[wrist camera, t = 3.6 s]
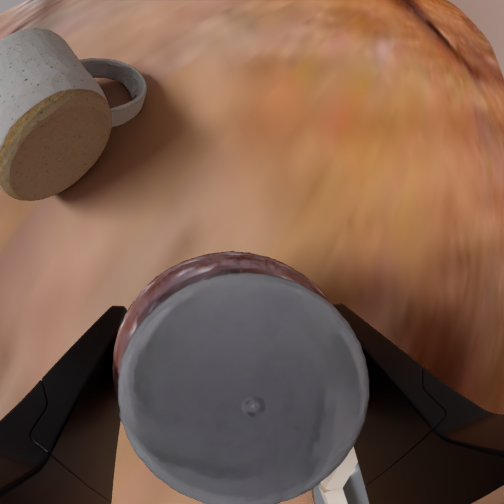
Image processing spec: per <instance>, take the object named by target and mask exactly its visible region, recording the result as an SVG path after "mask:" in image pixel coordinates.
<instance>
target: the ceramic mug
mask: <svg viewBox="0 0 504 504" xmlns="http://www.w3.org/2000/svg"><path fill="white" fill-rule="evenodd" d="M94 78H108V79H112V80H117V81H119V82H121V83H123V84H124V85H125V86H126V88H127V89H128V91H129V92H130V93H131V98H132V99H133V100H132V101H130V102H128V103H126V104H124V105H119V106H117V107H114V108H110V107H109V104H108V101H107V99H106V97H105V95H104V93H103V91H102V89H101V88H100V86H99V84H98V83H97V82H96V81H95V79H94ZM146 90H147V85H146V82H145V79H144V77H143V76H142V75H141V74H140V72H139V71H137V70H136V69H135V68H133V67H132V66H130V65H128V64H126V63H123V62H120V61H117V60H111V59H96V58H90V59H84V60H79V59H78V58H77V56H76V55H75V54H74V52H73V51H72V49H71V48H70V47H69V45H68V44H67V43H66V41H65V40H64V39H63V38H62V37H60V36H59V35H58V34H56V33H54V32H52V31H50V30H46V29H37V28H33V29H27V30H21V31H18V32H15V33H13V34H10V35H8V36H6V37H4V38H3V39H1V40H0V187H1V189H2V190H3V191H4V192H5V193H7V194H8V195H10V196H11V197H13V198H15V199H18V200H26V201H34V200H40V199H45V198H48V197H50V196H53V195H55V194H58V193H60V192H62V191H63V190H65V189H66V188H68V187H69V186H71V185H72V184H74V183H75V182H76V181H78V180H79V179H80V178H81V177H82V176H83V175H84V174H85V173H86V172H87V171H88V170H89V169H90V168H91V167H92V166H93V165H94V164H95V162H96V161H97V159H98V158H99V157H100V155H101V154H102V152H103V150H104V148H105V146H106V144H107V142H108V139H109V136H110V131H111V128H112V127H117V126H120V125H123V124H125V123H126V122H127V121H129V120H131V119H132V118H133V117H135V116H136V115H137V114H138V113H139V111H140V110H141V108H142V105H143V102H144V99H145V96H146Z"/></svg>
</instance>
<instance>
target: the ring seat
mask: <svg viewBox="0 0 504 504" xmlns="http://www.w3.org/2000/svg"><path fill="white" fill-rule="evenodd" d="M312 494H313V500H314V503H315V504H369V501H368V497H367V493H366V490H365V485H364V482H363V478H362V475H361V471H360V467H359V464H358V460H357V457H356V453H355V450H354V446H353V447H352V449H351V450H350V452H349V453H348V455H347V457H346V458H345V459H344V461H343V462H342V463H341V465H340V466H338V467H337V468H336V469H335V470H334V471H333V472H332V473H331V474H330V475H329V476H328V477H327V478H325V479H324V480H322V481H321V482H320V483H319V484H318V485H317V486H316V487H314V488H313V489H312Z"/></svg>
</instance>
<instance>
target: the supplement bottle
mask: <svg viewBox="0 0 504 504" xmlns="http://www.w3.org/2000/svg"><path fill="white" fill-rule="evenodd" d="M112 370H113V382H114V389H115V393H116V396H117V400H118V405H119V408H120V414H119V416H120V419H121V422H122V424H123V425H124V428H125V431H126V434H127V437H128V439H129V441H130V443H131V445H132V447H133V449H134V450H135V452H136V454H137V456H138V457H139V458H140V459H141V460H142V461H143V462H144V463H145V465H146V466H147V467H148V468H149V469H150V471H151V472H152V473H153V474H154V475H155V476H156V477H158V478H159V479H160V480H162V481H163V482H165V483H166V484H167V485H169V486H170V487H171V488H173V489H174V490H176V491H177V492H179V493H181V494H183V495H186V496H188V497H191V498H193V499H196V500H198V501H200V502H203V503H206V504H277V503H280V502H283V501H287V500H290V499H293V498H295V497H297V496H299V495H301V494H303V493H305V492H307V491H309V490H311V489H313V488H314V487H316V486H317V485H318V484H319V483H320V482H321V481H322V480H324V479H325V478H327V477H328V476H329V475H330V474H331V473H332V472H333V471H334V470H335V469H336V468H337V467H338V466H340V465H341V463H342V462H343V461H344V459H345V458H346V457H347V455H348V453H349V452H350V450H351V449H352V447H353V446H354V444H355V442H356V440H357V438H358V436H359V434H360V432H361V429H362V427H363V424H364V422H365V418H366V413H367V408H368V400H369V376H368V369H367V365H366V358H365V356H364V354H363V350H362V347H361V344H360V342H359V340H358V339H357V337H356V335H355V333H354V331H353V330H352V328H351V326H350V325H349V323H348V322H347V321H346V320H345V318H344V317H343V316H342V315H341V313H340V312H339V311H338V310H337V309H336V308H335V307H334V306H333V305H332V303H331V302H330V300H329V299H328V298H327V297H326V296H325V294H324V293H323V292H322V291H321V290H320V289H319V287H318V286H316V285H315V284H314V283H313V282H312V281H310V280H309V279H308V278H307V277H305V276H304V275H303V274H301V273H299V272H298V271H296V270H295V269H293V268H292V267H289V266H287V265H286V264H284V263H282V262H279V261H277V260H275V259H271V258H269V257H265V256H260V255H256V254H252V253H243V252H234V251H229V252H221V253H213V254H207V255H203V256H198V257H196V258H192V259H189V260H186V261H183V262H181V263H179V264H177V265H175V266H173V267H171V268H169V269H167V270H166V271H164V272H163V273H162V274H161V275H159V276H157V277H155V279H154V280H153V281H151V282H150V283H149V284H148V285H147V286H146V287H145V288H144V289H143V290H142V291H141V293H140V294H139V296H138V297H137V298H136V300H135V301H134V302H133V303H132V304H131V306H130V308H129V309H128V311H127V313H126V314H125V316H124V320H123V322H122V323H121V325H120V327H119V330H118V335H117V338H116V342H115V346H114V353H113V364H112Z"/></svg>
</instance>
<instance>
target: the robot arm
mask: <svg viewBox="0 0 504 504" xmlns="http://www.w3.org/2000/svg"><path fill="white" fill-rule="evenodd" d="M332 305H333V306H334V307H335V308H336V309H337V310H338V311H339V312H340V313H341V315H342V316H343V317H344V318H345V320H346V321H347V322H348V323H349V325H350V326H351V328H352V330H353V331H354V333H355V335H356V337H357V339H358V340H359V342H360V344H361V347H362V350H363V354H364V356H365V358H366V365H367V369H368V376H369V400H368V408H367V413H366V418H365V422H364V424H363V427H362V429H361V432H360V434H359V436H358V438H357V440H356V442H355V444H354V450H355V453H356V457H357V460H358V464H359V467H360V471H361V475H362V478H363V482H364V485H365V490H366V493H367V497H368V501H369V504H504V415H501V414H494V413H491V412H488V411H486V410H484V409H482V408H481V407H479V406H478V405H476V404H475V403H473V402H472V401H470V400H469V399H467V398H466V397H464V396H463V395H461V394H460V393H458V392H456V391H455V390H454V389H452V388H451V387H449V386H448V385H446V384H445V383H443V382H442V381H441V380H439V379H438V378H437V377H436V376H434V375H433V374H432V373H430V372H429V371H428V370H427V369H425V368H424V367H422V366H421V365H420V364H419V363H418V362H416V361H415V360H414V359H413V358H411V357H410V356H409V355H407V354H406V353H405V352H404V351H402V350H401V349H400V348H399V347H397V346H396V345H395V344H393V343H392V342H391V341H390V340H388V339H387V338H386V337H385V336H383V335H382V334H381V333H379V332H378V331H377V330H376V329H374V328H373V327H372V326H370V325H369V324H368V323H367V322H365V321H364V320H363V319H361V318H360V317H359V316H358V315H356V314H355V313H354V312H352V311H351V310H350V309H349V308H347V307H346V306H345V305H343V304H332ZM126 313H127V309H126V308H125V307H124V306H112V307H110V308H109V309H108V310H107V311H106V312H105V313H104V314H103V315H102V316H101V317H100V318H99V319H98V320H97V321H96V322H95V323H94V324H93V325H92V326H91V327H90V328H89V329H88V330H87V331H86V332H85V333H84V334H83V335H82V336H81V338H80V339H79V340H78V341H77V342H76V343H75V344H74V345H73V346H72V347H71V348H70V349H69V350H68V351H67V352H66V353H65V354H64V355H63V356H62V357H61V359H60V360H59V361H58V362H57V363H56V364H55V365H54V366H53V367H52V368H51V369H50V370H49V371H48V373H47V374H46V375H45V376H44V377H43V378H42V380H40V381H39V382H38V383H37V384H36V386H35V387H34V388H33V389H32V390H31V391H30V392H29V393H28V394H27V395H26V396H25V397H24V398H23V400H22V401H20V402H19V403H18V404H17V405H16V406H15V407H14V408H13V409H12V410H11V411H10V412H9V413H8V414H7V415H6V416H5V417H4V418H3V419H2V420H0V504H111V502H112V489H113V478H114V468H115V459H116V450H117V443H118V435H119V428H120V421H121V419H120V416H119V414H120V408H119V405H118V400H117V396H116V393H115V389H114V382H113V370H112V364H113V353H114V346H115V342H116V338H117V335H118V330H119V327H120V325H121V323H122V322H123V320H124V316H125V314H126Z"/></svg>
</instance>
